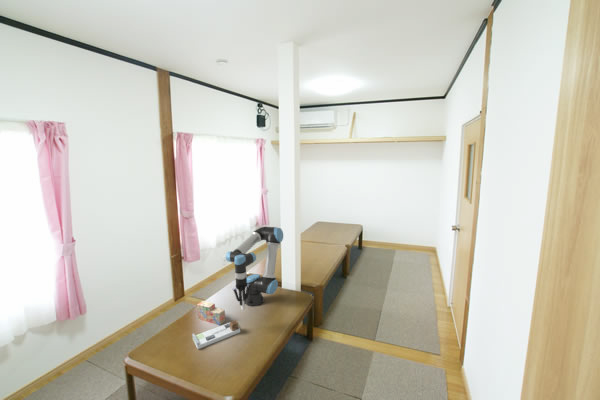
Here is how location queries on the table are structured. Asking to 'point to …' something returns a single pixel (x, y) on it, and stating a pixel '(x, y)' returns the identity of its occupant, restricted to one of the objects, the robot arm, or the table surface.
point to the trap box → (213, 335)
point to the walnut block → (234, 325)
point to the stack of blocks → (210, 313)
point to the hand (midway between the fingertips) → (242, 308)
